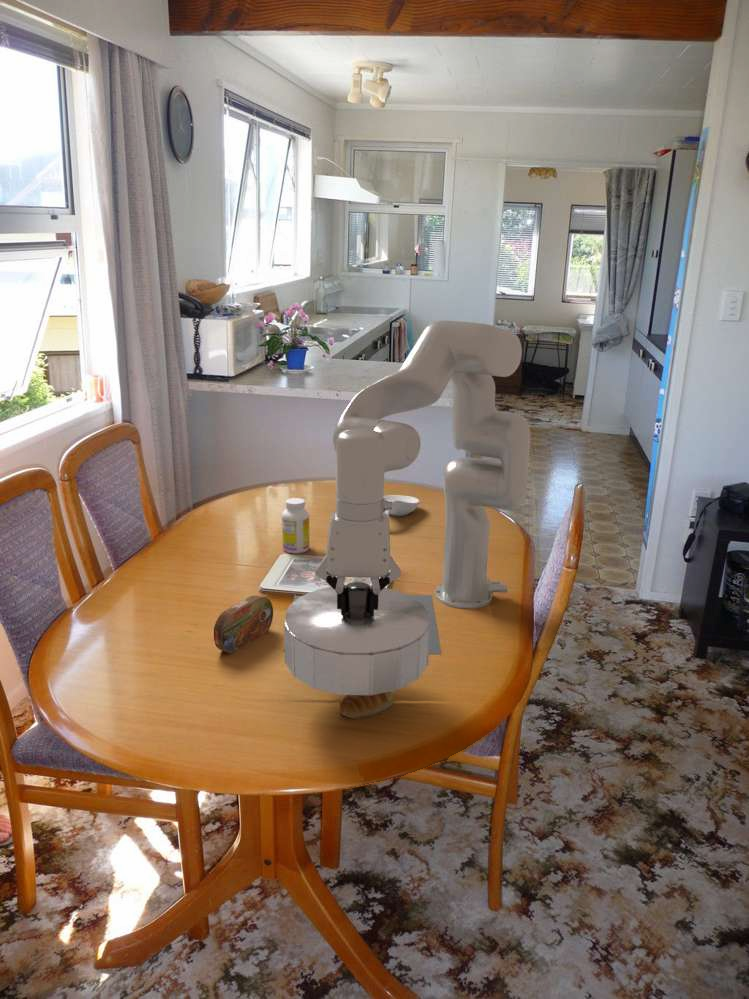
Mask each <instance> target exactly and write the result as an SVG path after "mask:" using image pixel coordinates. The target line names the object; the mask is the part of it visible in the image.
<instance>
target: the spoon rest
mask: <svg viewBox="0 0 749 999" xmlns="http://www.w3.org/2000/svg"><path fill="white" fill-rule="evenodd" d="M383 499H385V501H392V510H388V511H385V512H384V513H386V514H387V516H388V521H389V522H390V515H391V516H395V517H396V516H397V517H401V516H402V517H403V516H407V515H408V514H411V513H412V512H414V511H415V510H416V509H417V508H418V506H419V504H420V502H421V501H420V499H419V498H417V497H415V496H411V495H409V496H408V495H400V494H391V495H390V494H388V495H384V497H383ZM389 531H390V529H389Z"/></svg>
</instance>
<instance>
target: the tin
mask: <svg viewBox="0 0 749 999" xmlns="http://www.w3.org/2000/svg"><path fill="white" fill-rule="evenodd" d="M273 617H274V606H273V603H272V601H271V600H270V599H269V598H267V597H266V596H260V595H259V596H258V595H250V596H248V597H246V598H245V599H243V600H241V601H240V602H238V603H236V604H235V605H233V606H230V607H229V608H227V609H226V610H224V611H222V612H221V614H220V615H218V617H217V619H216V621H215V623H214V625H213V626H214V627H213V642H214V645H215V647H216V648H217V649H218V650H220V651H222V652H225V653H227V654H230V655H233V654H235V653H236V651H238V650H240V649H242V648H243V647H245V646H247V645H248V644H250V643H252V642H253V641H255V640H257V639H258V638H260V637H261V636H264V635H265V634H267V633H268V631H269V630H270V627H271V626H272V623H273V619H274V618H273Z"/></svg>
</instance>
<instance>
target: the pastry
mask: <svg viewBox="0 0 749 999" xmlns="http://www.w3.org/2000/svg"><path fill="white" fill-rule="evenodd" d="M394 703H395V699H394V696H393V693H392V691H389V692H384V693H380V694H375V695H370V696H369V695H344V698H343V699H342V700H341V701H340V703H339V714H341V715H342V716H345V717H347V718H349V719H355V718H356V719H359V718H364V716H365V717H372V716H374V715H375V713H376V714H378V713H380V711H381V712H383V711H386V710H387V709H389V708H390V707H391V706H392V705H393V704H394ZM388 707H389V708H388ZM371 715H372V716H371ZM358 717H359V718H358Z"/></svg>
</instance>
